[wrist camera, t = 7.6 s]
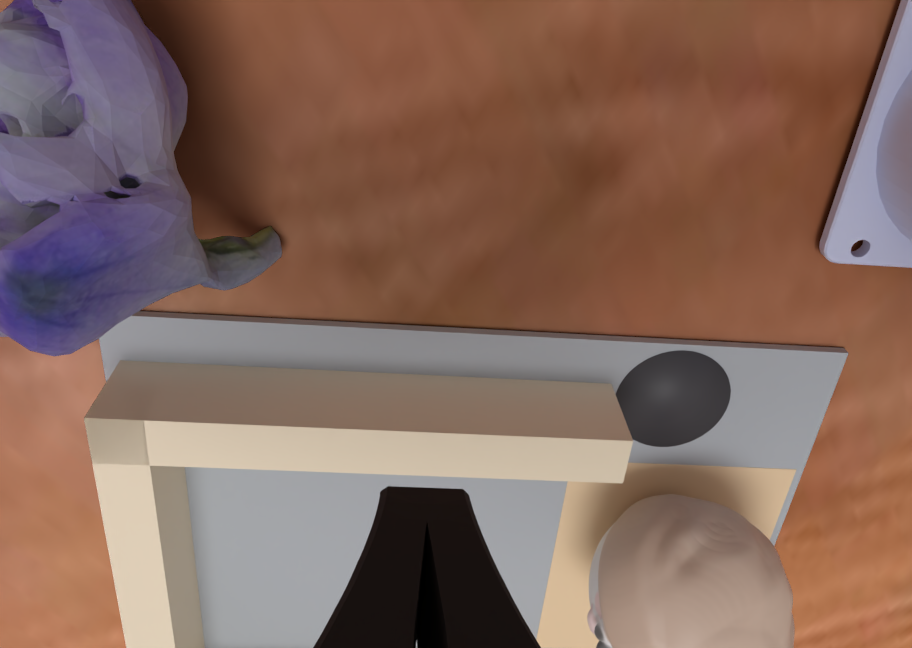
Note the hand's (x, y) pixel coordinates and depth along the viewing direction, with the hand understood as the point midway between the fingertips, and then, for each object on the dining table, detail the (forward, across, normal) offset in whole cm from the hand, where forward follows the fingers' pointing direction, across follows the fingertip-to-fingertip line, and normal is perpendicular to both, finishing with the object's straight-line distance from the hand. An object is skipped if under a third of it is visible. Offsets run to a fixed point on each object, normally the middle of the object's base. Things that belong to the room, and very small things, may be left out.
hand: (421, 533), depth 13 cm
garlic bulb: (+10, -9, +9) cm, 17 cm away
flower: (+11, +7, -3) cm, 13 cm away
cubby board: (+10, -2, +10) cm, 15 cm away
